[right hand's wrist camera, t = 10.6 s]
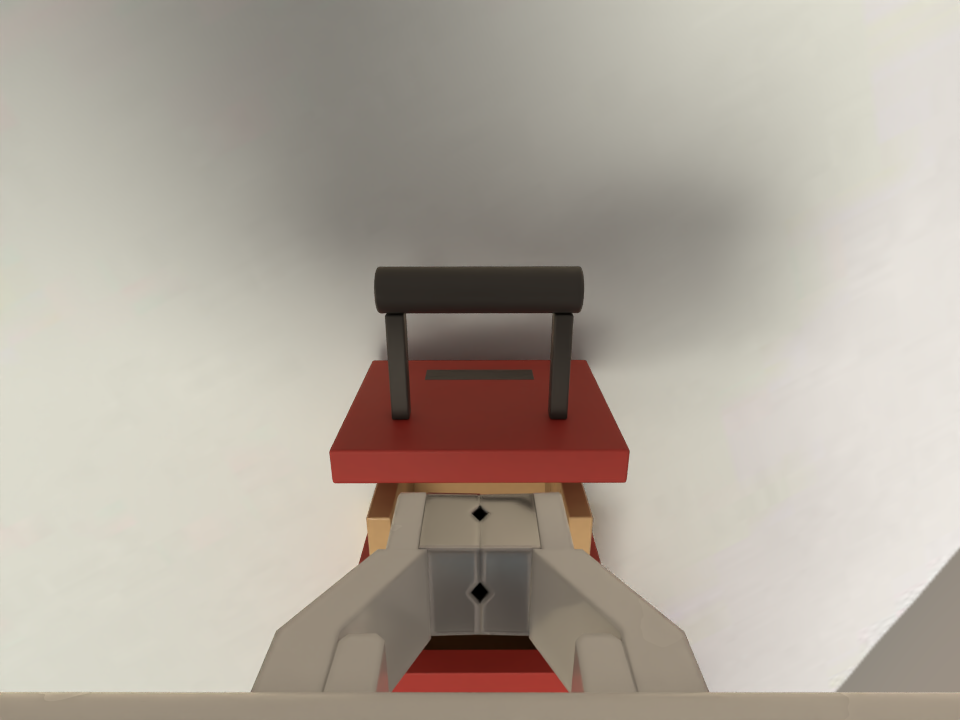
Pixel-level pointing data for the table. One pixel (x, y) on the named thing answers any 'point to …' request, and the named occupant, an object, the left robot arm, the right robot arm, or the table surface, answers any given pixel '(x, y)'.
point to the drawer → (479, 410)
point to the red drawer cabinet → (480, 667)
